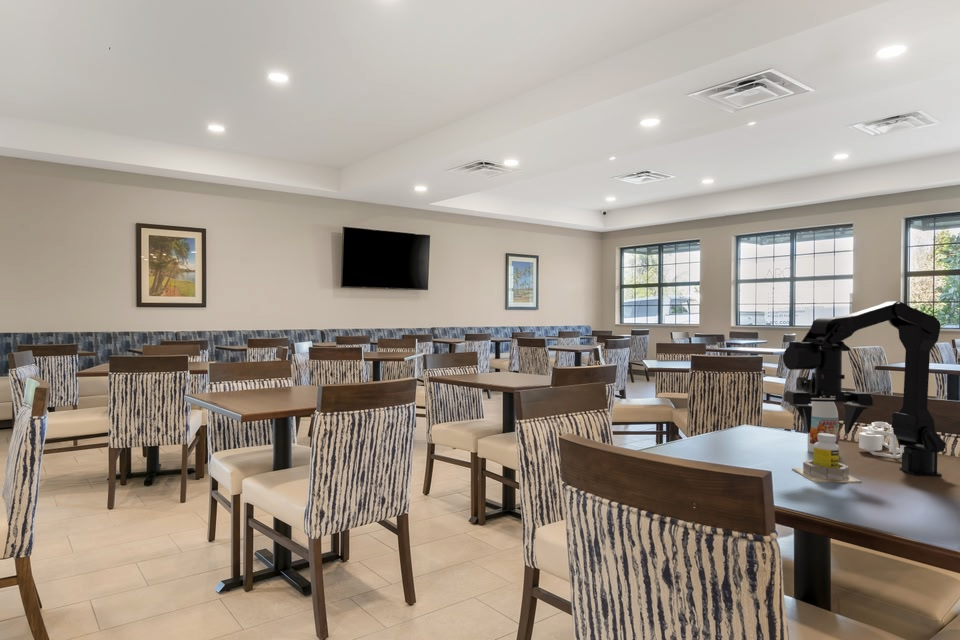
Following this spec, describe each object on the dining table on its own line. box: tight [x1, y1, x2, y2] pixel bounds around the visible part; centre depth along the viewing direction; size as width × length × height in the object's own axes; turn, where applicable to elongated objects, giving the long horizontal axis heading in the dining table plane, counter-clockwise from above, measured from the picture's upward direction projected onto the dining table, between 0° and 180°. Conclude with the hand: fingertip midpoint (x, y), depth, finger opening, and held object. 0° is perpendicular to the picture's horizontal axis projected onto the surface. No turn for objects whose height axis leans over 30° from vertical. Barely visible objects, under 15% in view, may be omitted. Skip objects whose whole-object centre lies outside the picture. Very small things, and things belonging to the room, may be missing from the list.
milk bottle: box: [807, 401, 839, 454], centre depth 175 cm, size 8×8×20 cm
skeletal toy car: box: [858, 421, 906, 459], centre depth 177 cm, size 20×11×7 cm, turn 144°
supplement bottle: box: [812, 433, 840, 468], centre depth 148 cm, size 5×5×10 cm
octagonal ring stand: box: [791, 459, 863, 484], centre depth 147 cm, size 11×11×3 cm
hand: (827, 433), depth 148 cm, fingers open, 9 cm apart
